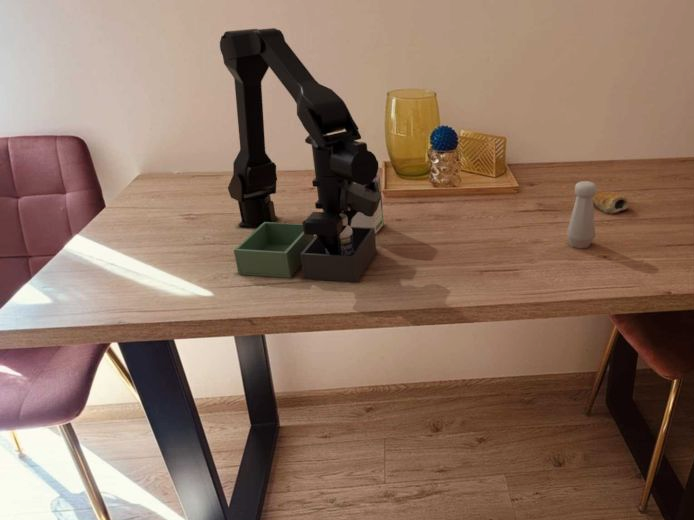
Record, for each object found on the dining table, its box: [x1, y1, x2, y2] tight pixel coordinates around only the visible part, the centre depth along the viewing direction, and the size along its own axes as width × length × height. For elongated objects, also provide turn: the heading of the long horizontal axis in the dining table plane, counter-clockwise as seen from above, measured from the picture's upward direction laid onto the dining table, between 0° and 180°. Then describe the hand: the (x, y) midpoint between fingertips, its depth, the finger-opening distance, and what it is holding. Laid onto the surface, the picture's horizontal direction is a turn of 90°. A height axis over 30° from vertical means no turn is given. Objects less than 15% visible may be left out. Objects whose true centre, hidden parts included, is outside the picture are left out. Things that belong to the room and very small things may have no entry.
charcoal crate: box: [300, 227, 377, 283], centre depth 123 cm, size 10×14×5 cm
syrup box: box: [351, 159, 385, 235], centre depth 136 cm, size 6×6×14 cm
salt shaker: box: [566, 180, 598, 249], centre depth 129 cm, size 6×6×13 cm
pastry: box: [593, 191, 630, 215], centre depth 151 cm, size 9×7×4 cm
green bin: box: [233, 221, 315, 279], centre depth 125 cm, size 10×14×5 cm
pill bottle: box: [325, 214, 355, 256], centre depth 122 cm, size 5×5×10 cm
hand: (340, 252), depth 123 cm, fingers closed on pill bottle, 5 cm apart
